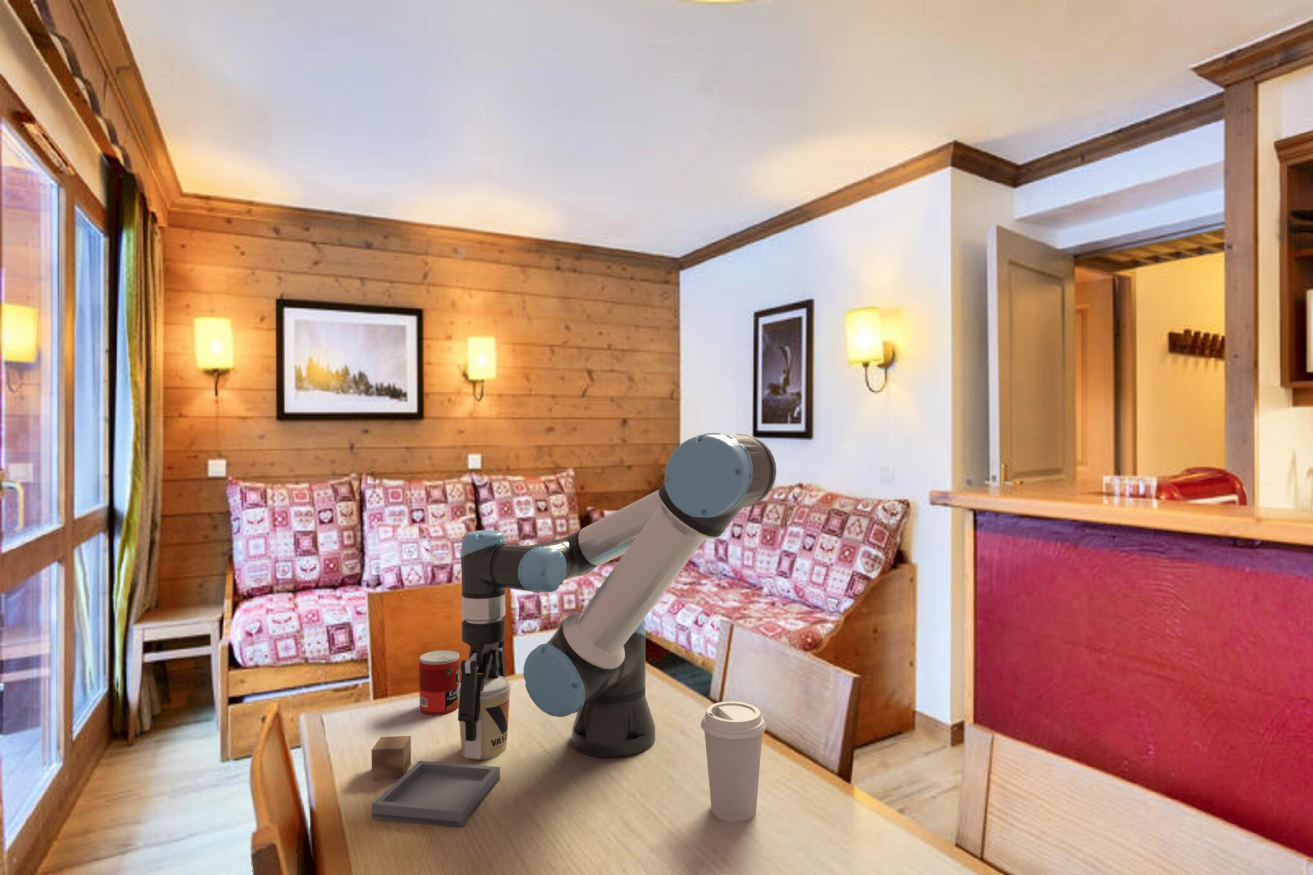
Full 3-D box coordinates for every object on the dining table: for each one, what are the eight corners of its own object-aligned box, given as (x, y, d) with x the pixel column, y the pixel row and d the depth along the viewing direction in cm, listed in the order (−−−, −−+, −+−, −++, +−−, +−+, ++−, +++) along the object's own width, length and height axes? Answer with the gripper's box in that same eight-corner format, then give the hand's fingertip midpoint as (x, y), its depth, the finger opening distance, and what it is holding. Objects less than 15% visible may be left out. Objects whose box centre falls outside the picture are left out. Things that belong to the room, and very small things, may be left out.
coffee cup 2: (700, 796, 109) (699, 699, 109) (762, 796, 109) (761, 699, 109) (702, 830, 100) (701, 724, 100) (770, 831, 99) (769, 724, 99)
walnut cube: (410, 764, 120) (410, 735, 121) (403, 778, 116) (403, 748, 116) (380, 766, 120) (380, 736, 120) (371, 780, 115) (371, 749, 115)
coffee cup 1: (497, 764, 120) (497, 694, 120) (447, 760, 122) (446, 690, 122) (519, 741, 129) (518, 675, 129) (471, 737, 131) (471, 672, 131)
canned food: (453, 716, 141) (453, 661, 141) (413, 716, 141) (413, 661, 141) (464, 702, 149) (464, 649, 149) (426, 702, 149) (426, 650, 149)
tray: (499, 780, 115) (499, 766, 115) (462, 827, 101) (461, 811, 101) (419, 773, 117) (419, 760, 117) (371, 818, 103) (371, 803, 103)
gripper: (487, 603, 137) (488, 720, 137) (435, 633, 116) (436, 772, 116) (524, 605, 136) (525, 723, 136) (478, 635, 115) (479, 775, 114)
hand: (484, 745), depth 126 cm, fingers closed on coffee cup 1, 9 cm apart
